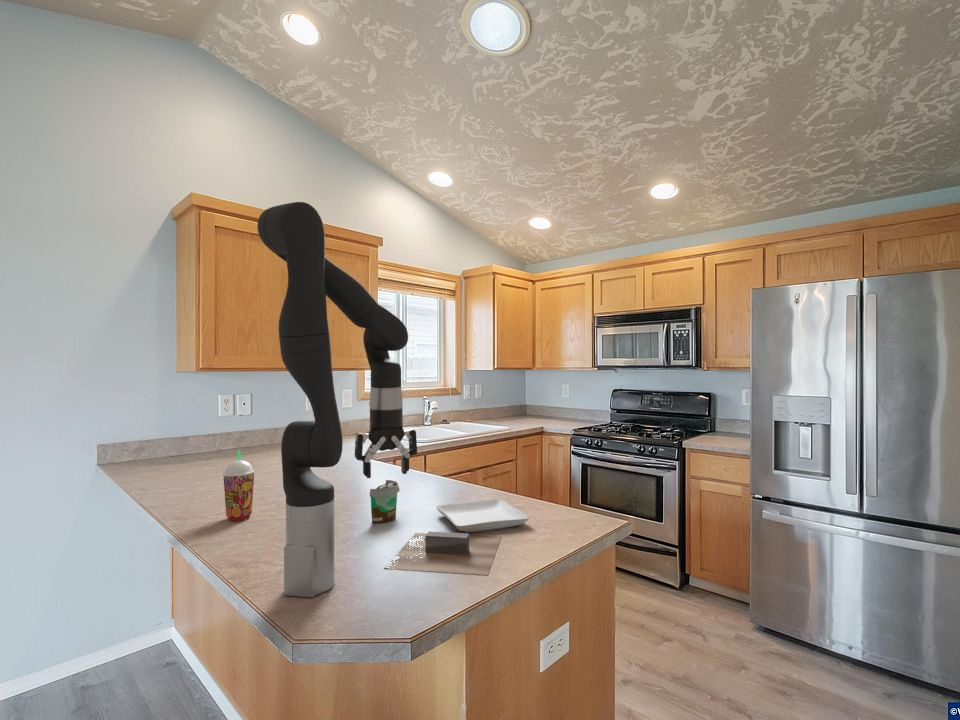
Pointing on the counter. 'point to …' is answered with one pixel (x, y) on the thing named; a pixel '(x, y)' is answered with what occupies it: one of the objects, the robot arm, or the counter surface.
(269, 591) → the counter surface
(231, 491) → the smoothie
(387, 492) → the food container
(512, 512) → the salad plate
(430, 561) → the cover board
